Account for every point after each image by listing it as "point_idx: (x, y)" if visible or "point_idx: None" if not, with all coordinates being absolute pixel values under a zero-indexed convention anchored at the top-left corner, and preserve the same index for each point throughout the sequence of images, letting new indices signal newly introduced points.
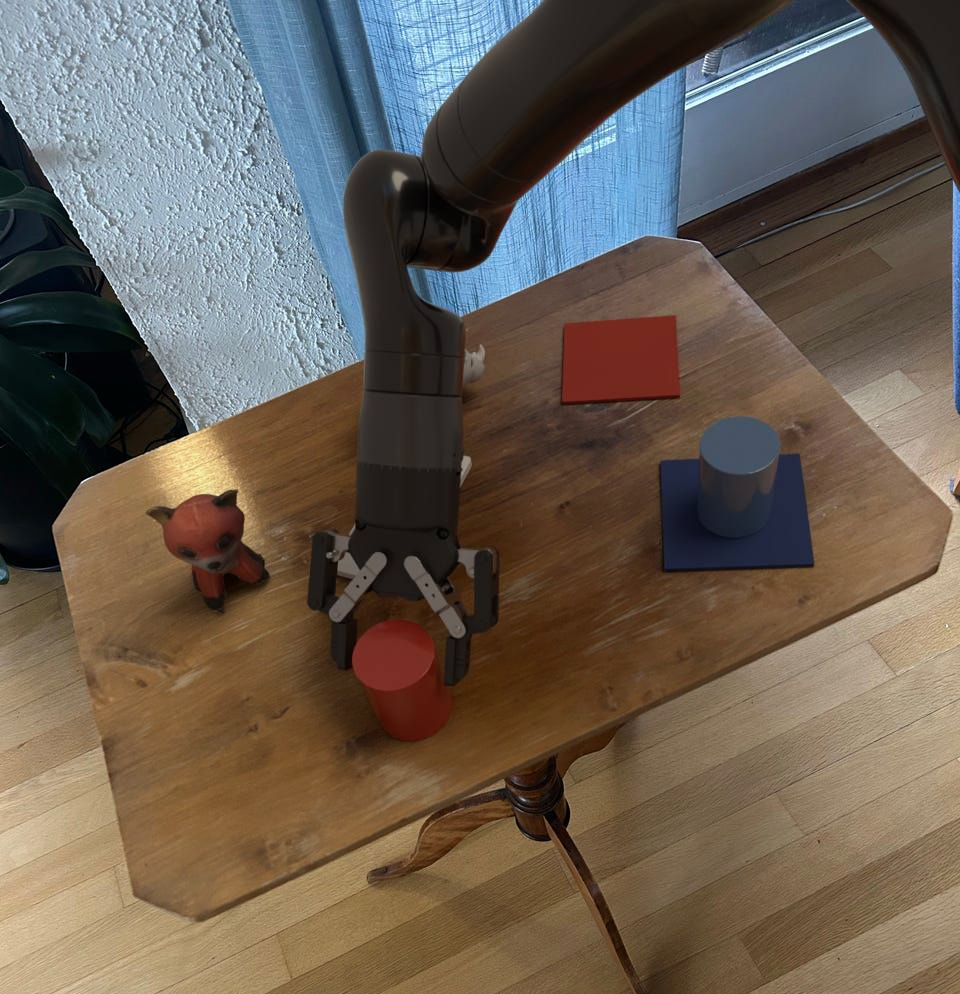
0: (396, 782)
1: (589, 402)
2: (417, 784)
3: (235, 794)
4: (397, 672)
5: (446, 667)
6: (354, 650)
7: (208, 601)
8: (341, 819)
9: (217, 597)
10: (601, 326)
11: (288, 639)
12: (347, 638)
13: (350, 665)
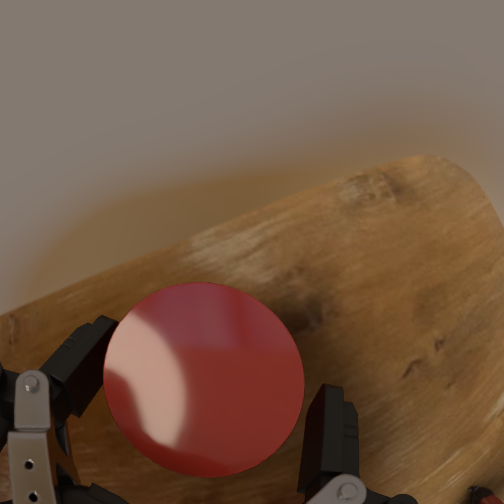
0: (248, 256)
1: None
2: (220, 251)
3: (440, 258)
4: (185, 329)
5: (95, 339)
6: (299, 405)
7: (489, 491)
8: (316, 215)
9: (482, 498)
10: None
11: (405, 473)
12: (319, 442)
13: (315, 400)
